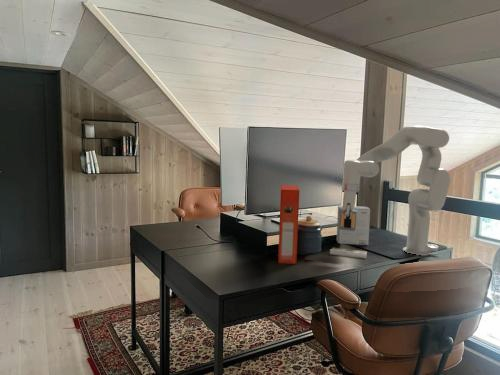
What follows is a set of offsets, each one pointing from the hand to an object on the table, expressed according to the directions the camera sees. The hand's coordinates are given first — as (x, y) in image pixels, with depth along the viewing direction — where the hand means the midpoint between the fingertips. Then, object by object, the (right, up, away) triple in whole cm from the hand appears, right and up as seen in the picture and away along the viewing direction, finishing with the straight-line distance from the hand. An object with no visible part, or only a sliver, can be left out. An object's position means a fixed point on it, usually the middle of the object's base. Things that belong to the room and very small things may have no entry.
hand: (347, 226), depth 181 cm
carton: (0, -1, 0) cm, 1 cm away
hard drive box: (+8, -12, +22) cm, 26 cm away
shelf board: (+1, -14, +2) cm, 14 cm away
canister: (-18, -13, +6) cm, 23 cm away
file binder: (-29, -14, -4) cm, 32 cm away
